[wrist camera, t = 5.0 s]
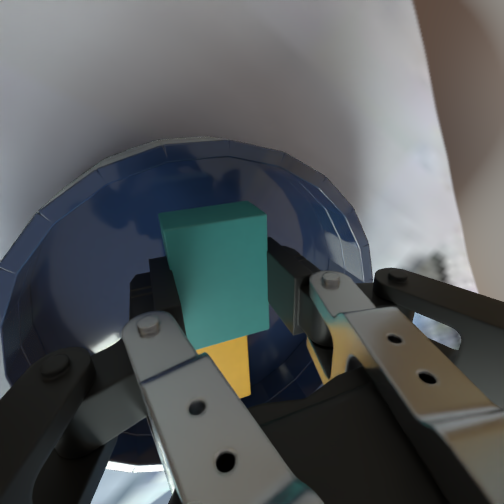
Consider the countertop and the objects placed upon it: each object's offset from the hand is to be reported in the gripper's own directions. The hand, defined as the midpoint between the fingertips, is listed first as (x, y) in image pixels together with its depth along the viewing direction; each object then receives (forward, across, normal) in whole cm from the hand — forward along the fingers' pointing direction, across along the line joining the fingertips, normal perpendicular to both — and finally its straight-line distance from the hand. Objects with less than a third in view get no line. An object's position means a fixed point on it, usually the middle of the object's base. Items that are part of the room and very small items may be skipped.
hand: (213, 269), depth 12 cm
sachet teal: (0, 0, 0) cm, 0 cm away
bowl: (+4, 0, +4) cm, 6 cm away
